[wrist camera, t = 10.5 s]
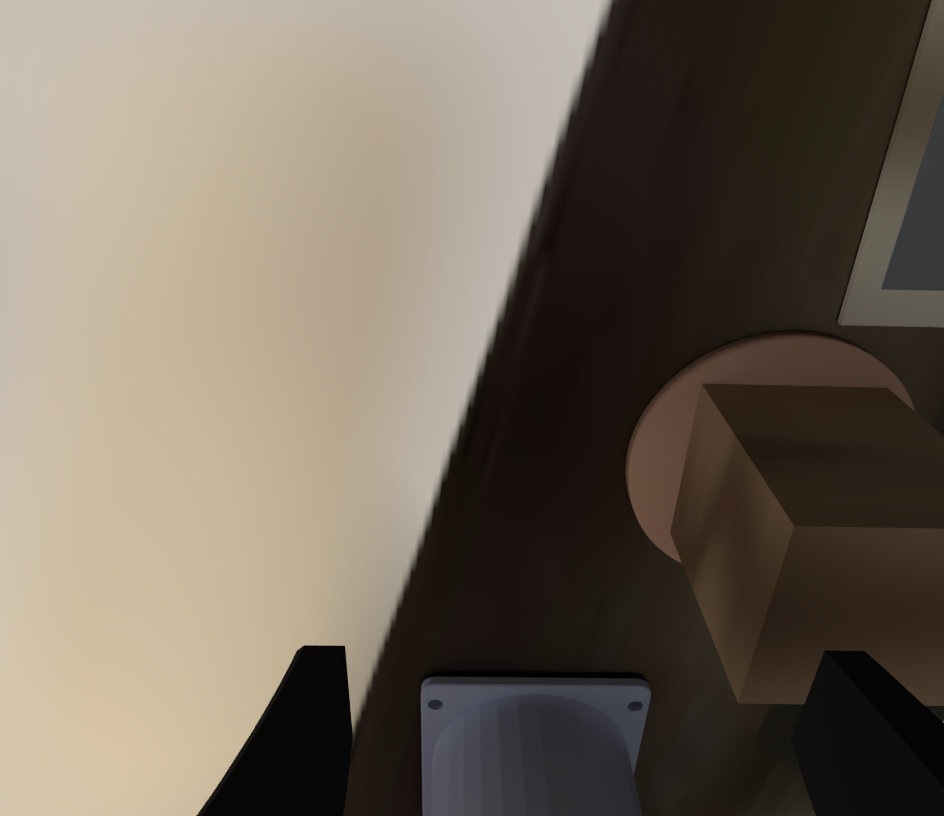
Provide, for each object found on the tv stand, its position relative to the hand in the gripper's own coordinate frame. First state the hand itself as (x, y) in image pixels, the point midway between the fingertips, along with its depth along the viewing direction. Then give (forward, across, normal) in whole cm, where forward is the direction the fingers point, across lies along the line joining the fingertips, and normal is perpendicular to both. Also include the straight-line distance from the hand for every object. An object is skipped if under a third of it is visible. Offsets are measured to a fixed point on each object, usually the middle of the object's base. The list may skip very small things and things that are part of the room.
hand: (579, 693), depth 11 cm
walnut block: (+9, -7, +2) cm, 12 cm away
